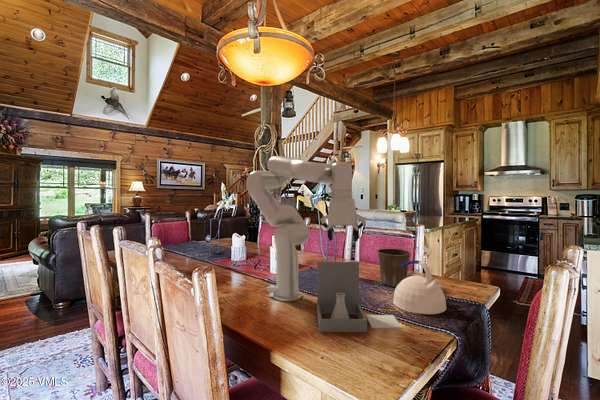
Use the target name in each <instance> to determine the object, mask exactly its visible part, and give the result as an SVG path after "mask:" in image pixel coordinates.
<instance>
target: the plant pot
mask: <svg viewBox="0 0 600 400" xmlns="http://www.w3.org/2000/svg"><path fill="white" fill-rule="evenodd" d="M376 253H377V255H378V257H377V258H378V260H379V261H378V262H379V264H378V265H379V273H380V274H379V275H380V283H381V284H382V285H386V287H392V288H394V287H395V288H396V287H397V285H398V284H399V283H400V282H401V281H402V280H404V279H405V278H407V277H408V269H409V265H408V266H406V267H405V268H403V267H401V266H402V265H403V264H404V263H406V262H408V261H410V258H411V255H412V252H411V251H409V250H407V249H400V248H379V249H377V251H376Z"/></svg>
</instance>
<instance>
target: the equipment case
mask: <svg viewBox="0 0 600 400" xmlns="http://www.w3.org/2000/svg"><path fill="white" fill-rule="evenodd" d="M316 264H317V265H316V267H317V268H316V273H317V274H316V279H317V280H316V284H317V285H316V287H317V288H316V291H317V292H316V297H317V298H316V299H317V300H316V302H317V304H316V305H317V306H316V308H317V309H316V312H317V313H316V314H317V315H316V316H317V322H318V323H317V324H318V331H319V333H368V320H367V318H366V314H365V313H364V311H363V309H362V306H361V305H360V262H359V261H317V262H316ZM336 293H344V294H345V296H344V301H345V306H346V309H347V312H348V315H356V316H357V317H358V318H350V319H330V318H322V315H332V313H333V310H334V307H335V305H336V299H337V296H336Z"/></svg>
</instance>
